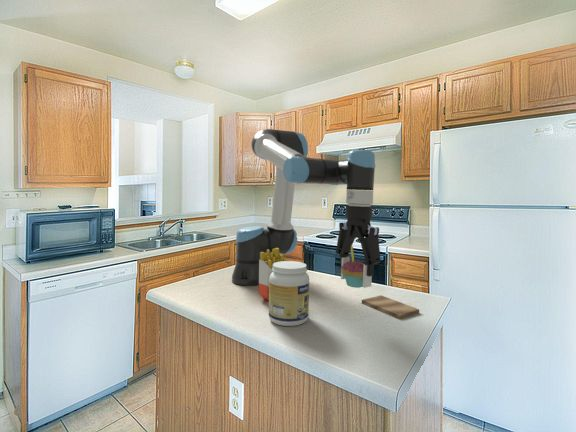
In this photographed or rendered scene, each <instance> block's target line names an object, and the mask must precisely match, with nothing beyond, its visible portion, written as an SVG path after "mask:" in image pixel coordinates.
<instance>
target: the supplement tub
mask: <svg viewBox="0 0 576 432" xmlns="http://www.w3.org/2000/svg"><path fill="white" fill-rule="evenodd" d="M307 268H308V266H307V264H306V263H304V262H301V261H300V262H299V261H291V260H287V261H281V262H276V263H274V264H273V268H272V271H273V272H272V273H271V275H270V277H269V301H268V318H269V321H271V322H272V323H273V324H275V325H279V326H283V327H295V326H296V327H297V326H299V325H302V324H304V323H306V322H307V321H308V319H309V306H310V305H309V304H310V303H309V301H310V299H309V298H310V296H309V295H310V275H309V274H308V273H307V271H308V269H307Z"/></svg>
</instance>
